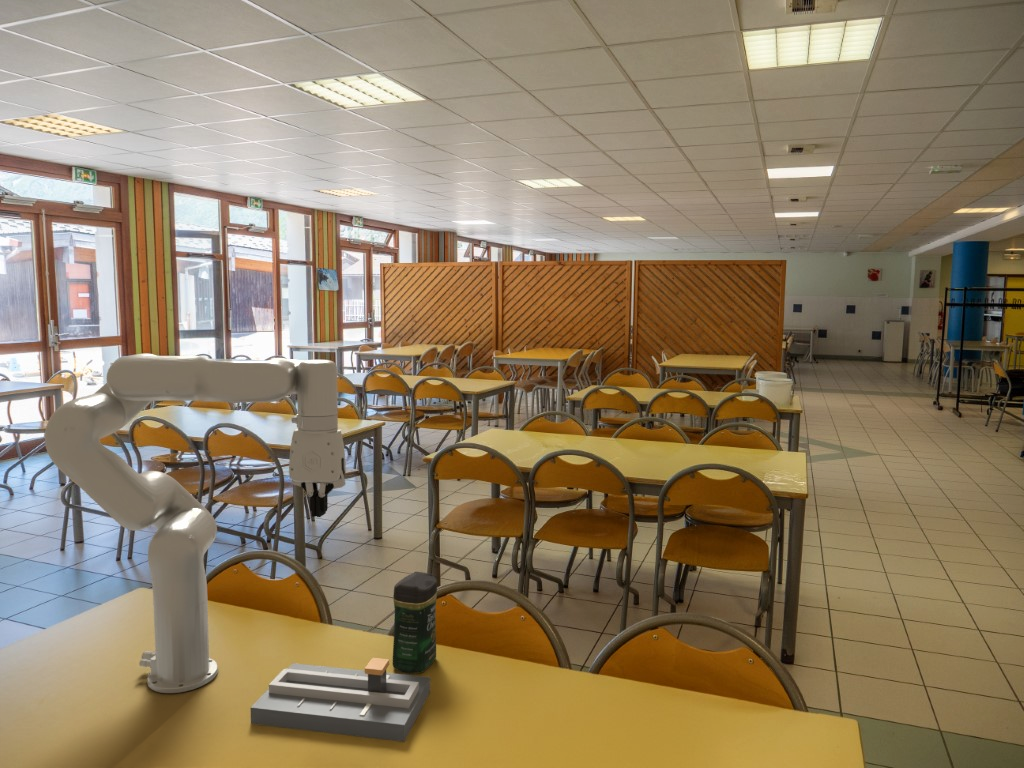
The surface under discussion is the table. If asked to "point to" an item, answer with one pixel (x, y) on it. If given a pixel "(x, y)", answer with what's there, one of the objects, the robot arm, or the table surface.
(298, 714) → the console
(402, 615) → the coffee jar
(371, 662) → the fader
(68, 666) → the table surface
